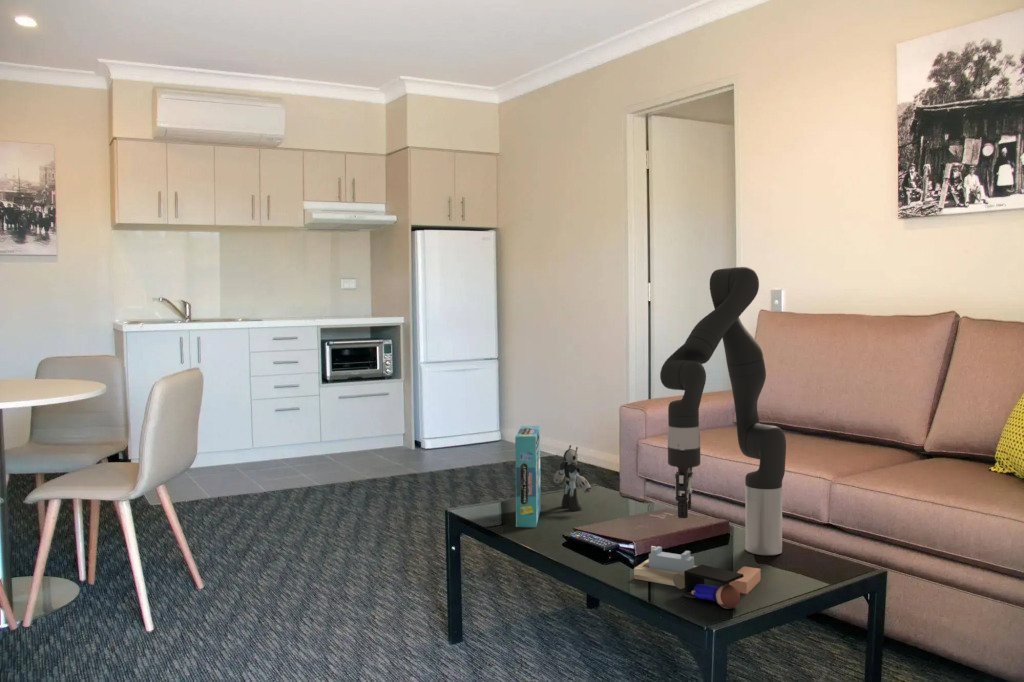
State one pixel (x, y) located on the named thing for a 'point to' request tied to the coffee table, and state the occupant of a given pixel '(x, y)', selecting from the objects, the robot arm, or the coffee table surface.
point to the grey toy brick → (670, 560)
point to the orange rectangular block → (747, 579)
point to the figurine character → (695, 584)
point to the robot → (571, 480)
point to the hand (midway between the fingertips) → (684, 513)
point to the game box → (528, 476)
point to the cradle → (653, 574)
